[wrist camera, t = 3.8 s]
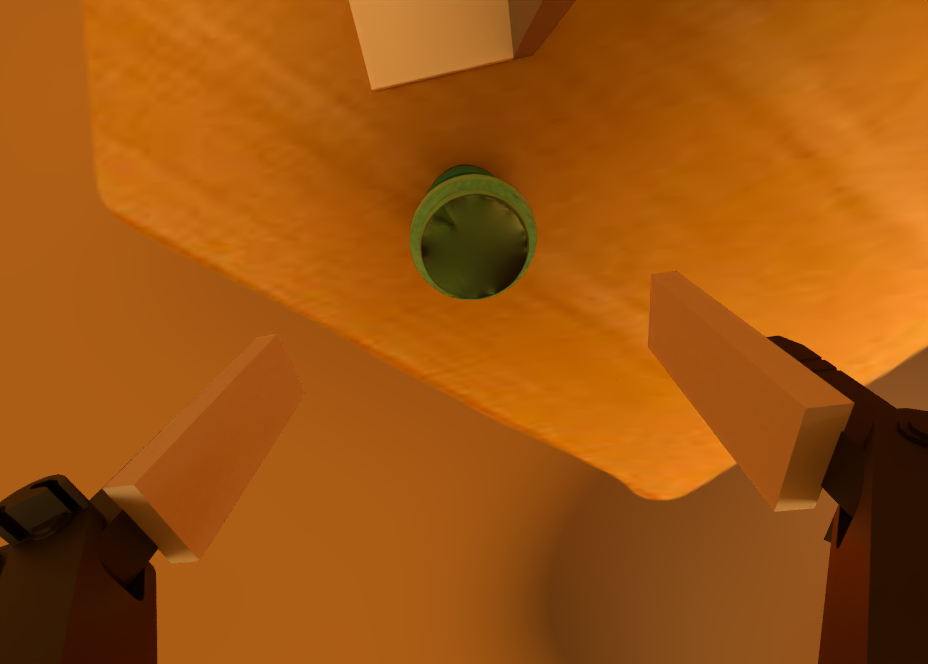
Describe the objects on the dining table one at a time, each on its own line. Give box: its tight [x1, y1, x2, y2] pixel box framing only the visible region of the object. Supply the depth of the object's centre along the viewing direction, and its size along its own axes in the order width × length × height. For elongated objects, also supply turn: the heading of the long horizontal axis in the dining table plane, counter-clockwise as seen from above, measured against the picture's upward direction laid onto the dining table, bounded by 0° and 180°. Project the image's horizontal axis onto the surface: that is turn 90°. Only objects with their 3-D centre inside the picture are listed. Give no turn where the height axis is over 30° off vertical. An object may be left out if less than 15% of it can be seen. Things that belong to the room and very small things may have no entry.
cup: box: [410, 165, 537, 300], centre depth 28 cm, size 8×8×12 cm
